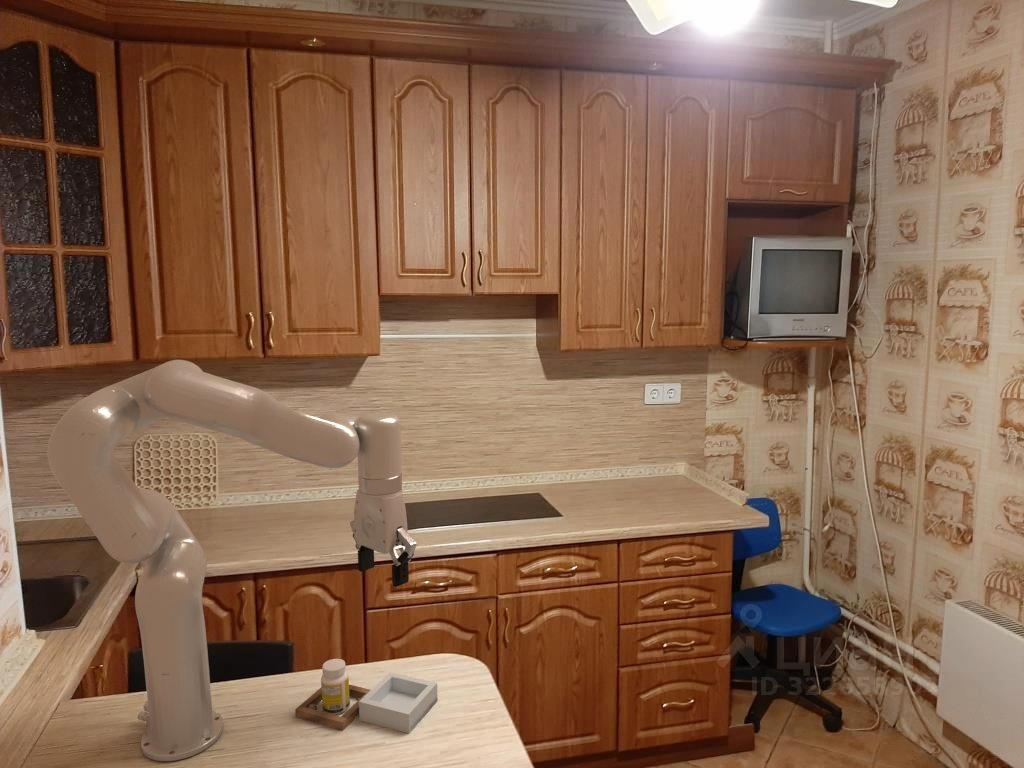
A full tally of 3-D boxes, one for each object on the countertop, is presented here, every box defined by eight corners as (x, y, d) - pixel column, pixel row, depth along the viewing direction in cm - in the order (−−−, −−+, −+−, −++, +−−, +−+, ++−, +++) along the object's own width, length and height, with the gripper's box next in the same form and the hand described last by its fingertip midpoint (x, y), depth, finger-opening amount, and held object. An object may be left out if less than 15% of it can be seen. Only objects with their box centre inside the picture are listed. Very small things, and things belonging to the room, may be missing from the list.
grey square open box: (359, 720, 124) (358, 701, 123) (390, 689, 133) (389, 672, 132) (409, 733, 120) (408, 714, 119) (437, 700, 129) (437, 683, 129)
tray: (295, 717, 125) (294, 707, 124) (330, 687, 134) (330, 678, 134) (342, 730, 121) (342, 720, 121) (375, 698, 130) (375, 689, 130)
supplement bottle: (339, 696, 131) (337, 654, 129) (355, 706, 128) (353, 663, 126) (317, 709, 127) (314, 665, 126) (333, 719, 124) (331, 674, 123)
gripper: (333, 479, 127) (337, 570, 129) (394, 498, 115) (397, 598, 118) (367, 470, 132) (370, 558, 135) (429, 488, 121) (431, 583, 123)
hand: (383, 576), depth 126 cm, fingers open, 9 cm apart
